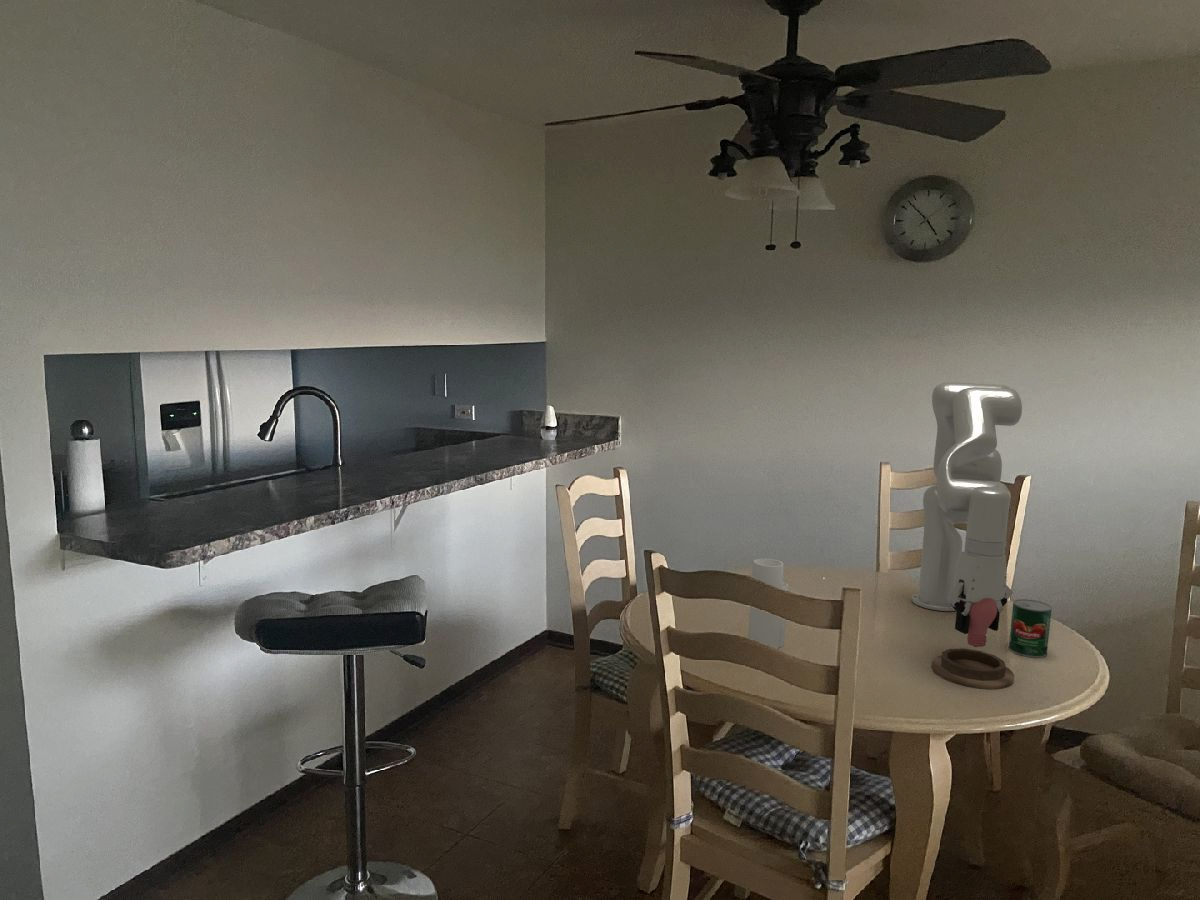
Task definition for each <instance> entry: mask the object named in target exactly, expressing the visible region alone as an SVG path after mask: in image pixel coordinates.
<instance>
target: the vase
mask: <svg viewBox="0 0 1200 900" xmlns="http://www.w3.org/2000/svg"><path fill="white" fill-rule="evenodd" d="M784 567H785V564H784V562H783V561H781V560H777V559H775V558H754V560H752V565H751V569H752V571H751V579H752V578H755V579H757V580H760V581H762V582H765V583H767V584H770V585H772V586H775V587H777V588H780V589H782V590H785V591H788V592H789V584H788V583H787V582H784ZM748 617H749V618H748V630H747V631H748V634H747V639H748V638H749V639H753V640H756V641H760V642H762V643H765V644H768V645H770V646H772V647H774V648H777V649H778V650H779V648H782V647H784V646H785V642H786V641H785V640H786V623H787V620H786V621H785V620H783V619H781V618H779V617H777V616H775V615H772V614H769V613H766V612H764V611H761V610H757V609H754V608H752V607H750V606H749V615H748Z"/></svg>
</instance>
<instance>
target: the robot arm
mask: <svg viewBox="0 0 1200 900" xmlns="http://www.w3.org/2000/svg"><path fill="white" fill-rule="evenodd" d="M931 406H932V410H933V413H934V417H935V420H936V425H937V427H936V436H935V437H936V438H935V439H936V440H935V446H934V447H935V448H934V453H933V454H934V455H933V474H934V476H935V477H936V485H932V486H930V487H928V488H927V489H926V490H925V492H924V493H923V498H922V504H923V505H922V506H923V537H922V538H923V539H922V551H921V558H920V559H921V560H920V561H921V562H920V572H919V582H918V592H916V593H914V594H912V595H911V602H912V603H913V604H915V605H916V606H919V607H922V608H925V609H928V610H932V611H939V612H956V614H955V621H954V622H955V624H954V630H956V631H957V632H959V633H962V634H964V635H968V631H969V621H970V616H969V615H967V614H968V612H969V610H970V608H971V606H972V604H973V603H977V602H979V601H981V600H983V599H985V598H992V599H993V600H995V602H996V604H997V615H996V617H995V619H994V620H993V622H992V623H991V624H990V626H989V627H988V628H987V629H990V630H992V631H994V632H997V631H998V630H999V625H1000V624H999V623H1000V616H1001V615H1000V614H1001V613H1002V612H1003V611H1004V610H1003V609H1004V606H1006V604H1007V603H1008V600H1009V599H1010V598H1011V596H1012V595H1013V593H1014V591H1013V590H1012V589H1011V588H1010V587H1009V586H1008V585H1007V581H1008V580H1007V579H1008V578H1007V576H1008V571H1007V570H1008V568H1007V566H1008V565H1007V555H1006V554H1005V550H1006V547H1007V546H1008V542H1007V533H1008V522H1009V513H1010V507H1011V497H1012V495H1011V492H1010V490H1009V489H1008V487H1007V486H1006V484H1004V483H1002V482H1001V479H1002V472H1003V471H1002V470H1003V462H1002V461H1003V460H1002V456H1001V453H1000V452H999V451H998V450H997V449H996V448H997V445H998V438H997V432H996V430H997V429H996V426H1003V427H1004V426H1005V427H1006V426H1007V427H1008V426H1009V427H1011V426H1016V425H1017V424H1018V423H1019V421H1020V419H1021V417H1022V413H1023V405H1022V399H1021V397H1020V394H1019V393H1018V391H1017V390H1015V389H1014V388H1013V387H1010V386H1007V385H1006V384H1005V385H1004V384H993V383H974V382H942V383H939V384H936V386H935V387H934V388H933V390H932V395H931ZM954 524H966V533H965V541H964V551H963V538H962V536H961V534H960V532H959V531H958V530H957V529H956V527H955V526H954ZM965 598H966V599H965ZM964 602H966V604H965V606H964V607H963V606H962V605H963V603H964Z"/></svg>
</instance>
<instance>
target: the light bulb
mask: <svg viewBox="0 0 1200 900" xmlns="http://www.w3.org/2000/svg"><path fill="white" fill-rule="evenodd" d="M965 599H966V598H965ZM965 604H966V602H964V603H963V605H962V606H963V607H964V606H965ZM967 615H969V616H970V621H969V631H968V634H967V637H966V638H967V644H968V645H969V646H970V647H974V648H982V647H986V643H987V636H986V635H987V633H988V629H989V628H988V627H989V626H990V624H991V623H992V622H993V620H994V619H995V617H996V615H997V604H996V602H995V600H993V599H992V598H985V599H983V600H981V601H979V602H977V603H973V604H972V606H971V608H970V610H969V612H968V614H967Z"/></svg>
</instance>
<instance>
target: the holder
mask: <svg viewBox="0 0 1200 900" xmlns="http://www.w3.org/2000/svg"><path fill="white" fill-rule="evenodd" d="M930 666H931V667H932V668H931V670H932V669H933V670H932V671H933V673H935V674H936V675H937V674H938V675H939V676H938V675H937V676H938V677H940V676H941V677H940V678H942V677H943V678H942V679H944V680H946V679H947V680H946V681H948V680H949V681H948V682H951V681H952V682H951V683H953V682H954V683H953V684H956V683H957V685H960V686H965V687H969V688H975V689H980V688H981V690H999V688H1001V689H1005V688H1004V687H1006V688H1008V686H1009V687H1010V686H1012V685H1013V684H1014V682H1015V674H1014V672H1013V671H1012V669H1010V668H1009V667H1007V666H1006V662H1005V661H1004V660H1003V659H1001V658H1000V657H998V656H997V655H995V654H991V653H988V652H985V651H982V650H977V649H970V648H969V649H968V648H949V649H946V650H943V651H942V652H941V654H940V655H938V656H935V657H934V658H933V659H932V660H931V665H930Z"/></svg>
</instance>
